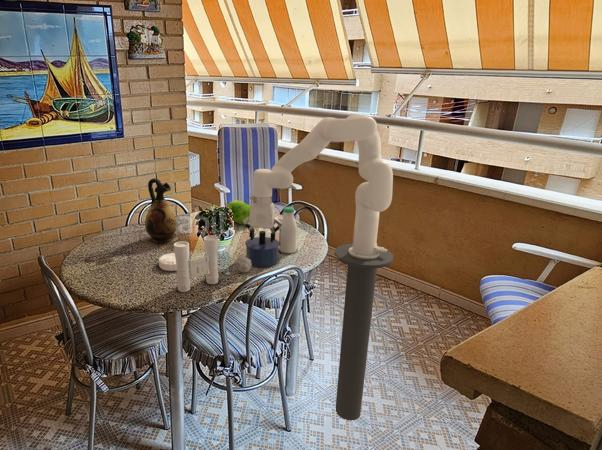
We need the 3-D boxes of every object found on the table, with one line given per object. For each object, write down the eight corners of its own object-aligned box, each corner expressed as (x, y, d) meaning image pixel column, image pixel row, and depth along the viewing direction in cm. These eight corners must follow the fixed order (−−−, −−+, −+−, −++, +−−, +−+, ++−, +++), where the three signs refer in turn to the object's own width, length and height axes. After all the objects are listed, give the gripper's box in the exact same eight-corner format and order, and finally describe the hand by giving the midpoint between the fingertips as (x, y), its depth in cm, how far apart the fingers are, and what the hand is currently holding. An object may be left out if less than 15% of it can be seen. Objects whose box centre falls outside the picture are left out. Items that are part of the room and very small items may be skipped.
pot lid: (282, 241, 175) (283, 227, 173) (274, 254, 163) (274, 239, 161) (251, 237, 180) (251, 224, 178) (240, 249, 168) (240, 235, 166)
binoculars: (180, 293, 148) (177, 248, 142) (174, 287, 153) (171, 243, 147) (221, 282, 156) (220, 238, 150) (215, 276, 160) (214, 234, 154)
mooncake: (153, 266, 171) (152, 258, 170) (174, 256, 179) (173, 249, 178) (173, 274, 164) (172, 265, 162) (193, 263, 172) (193, 256, 171)
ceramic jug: (184, 237, 202) (180, 177, 192) (164, 247, 190) (159, 184, 180) (157, 231, 211) (153, 174, 201) (137, 241, 198) (131, 180, 188)
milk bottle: (299, 250, 184) (301, 207, 177) (289, 255, 178) (290, 211, 172) (285, 245, 189) (286, 204, 182) (275, 250, 184) (276, 208, 177)
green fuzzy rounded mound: (240, 214, 234) (240, 195, 230) (260, 226, 214) (260, 205, 210) (220, 218, 229) (219, 198, 225) (238, 230, 209) (237, 208, 205)
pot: (280, 256, 177) (281, 240, 175) (273, 269, 166) (273, 252, 163) (251, 252, 182) (251, 237, 179) (242, 264, 170) (242, 248, 168)
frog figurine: (232, 271, 165) (231, 255, 162) (246, 267, 168) (246, 251, 166) (240, 277, 160) (240, 260, 157) (255, 272, 163) (255, 256, 161)
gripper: (239, 200, 165) (239, 240, 170) (281, 204, 159) (280, 245, 164) (245, 195, 171) (245, 234, 177) (285, 199, 165) (284, 239, 171)
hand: (262, 239), depth 171 cm, fingers open, 8 cm apart
